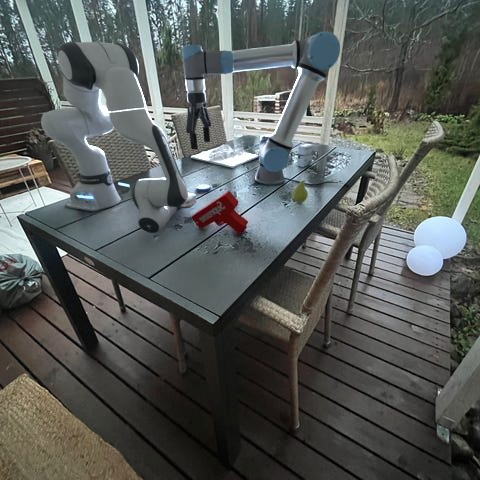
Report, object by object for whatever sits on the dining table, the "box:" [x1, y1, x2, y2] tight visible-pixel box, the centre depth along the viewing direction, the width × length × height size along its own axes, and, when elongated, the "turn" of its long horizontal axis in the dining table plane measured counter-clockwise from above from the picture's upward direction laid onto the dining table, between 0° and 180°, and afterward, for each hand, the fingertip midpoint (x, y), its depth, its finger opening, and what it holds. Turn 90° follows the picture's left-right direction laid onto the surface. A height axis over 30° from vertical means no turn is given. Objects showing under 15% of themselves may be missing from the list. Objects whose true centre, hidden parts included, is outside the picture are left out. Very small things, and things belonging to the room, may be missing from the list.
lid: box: [196, 183, 211, 194], centre depth 133 cm, size 6×6×2 cm
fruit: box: [291, 174, 311, 204], centre depth 118 cm, size 7×8×12 cm
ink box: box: [296, 143, 314, 168], centre depth 163 cm, size 8×5×12 cm, turn 135°
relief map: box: [190, 143, 259, 169], centre depth 179 cm, size 27×35×5 cm
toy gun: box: [190, 190, 249, 236], centre depth 99 cm, size 18×4×15 cm
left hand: (176, 191), depth 116 cm, fingers open, 8 cm apart
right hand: (201, 145), depth 122 cm, fingers open, 13 cm apart
